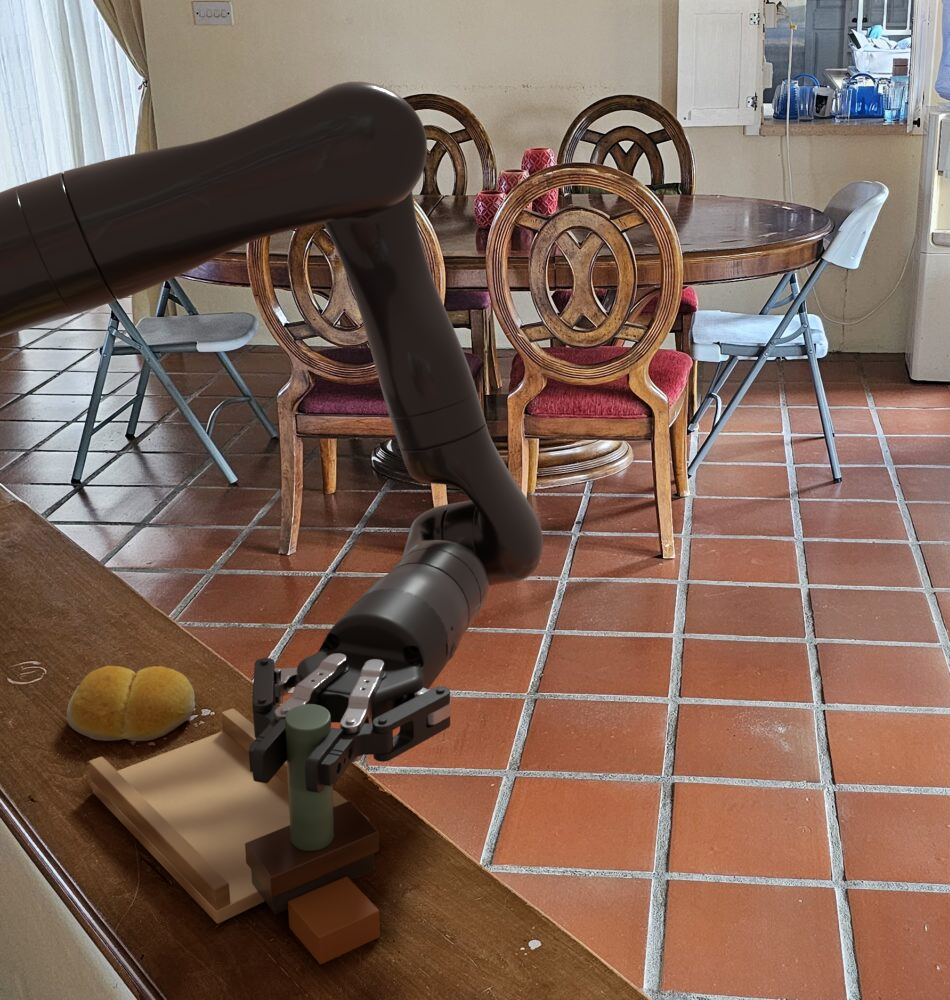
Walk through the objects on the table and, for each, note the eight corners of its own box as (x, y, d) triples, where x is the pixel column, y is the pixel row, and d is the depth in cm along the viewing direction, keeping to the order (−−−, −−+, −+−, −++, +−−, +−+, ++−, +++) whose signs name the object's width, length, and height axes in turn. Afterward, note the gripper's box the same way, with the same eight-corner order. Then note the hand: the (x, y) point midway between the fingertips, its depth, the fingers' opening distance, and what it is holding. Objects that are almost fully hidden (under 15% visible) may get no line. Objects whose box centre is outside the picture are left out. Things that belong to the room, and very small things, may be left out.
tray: (92, 792, 90) (88, 760, 90) (235, 737, 98) (233, 707, 97) (217, 924, 78) (214, 889, 77) (370, 851, 86) (369, 818, 85)
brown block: (289, 927, 78) (287, 900, 78) (347, 901, 81) (346, 875, 80) (320, 965, 76) (318, 937, 75) (380, 937, 78) (379, 910, 77)
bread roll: (185, 745, 96) (180, 698, 95) (60, 748, 95) (53, 700, 94) (205, 688, 104) (201, 644, 102) (90, 690, 103) (84, 646, 102)
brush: (247, 883, 80) (236, 721, 74) (351, 838, 84) (348, 682, 79) (273, 918, 77) (264, 753, 72) (379, 871, 82) (378, 711, 76)
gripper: (302, 573, 89) (167, 697, 73) (496, 601, 86) (399, 737, 70) (307, 669, 92) (178, 808, 76) (495, 699, 89) (402, 851, 73)
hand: (285, 773), depth 73 cm, fingers closed on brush, 2 cm apart
